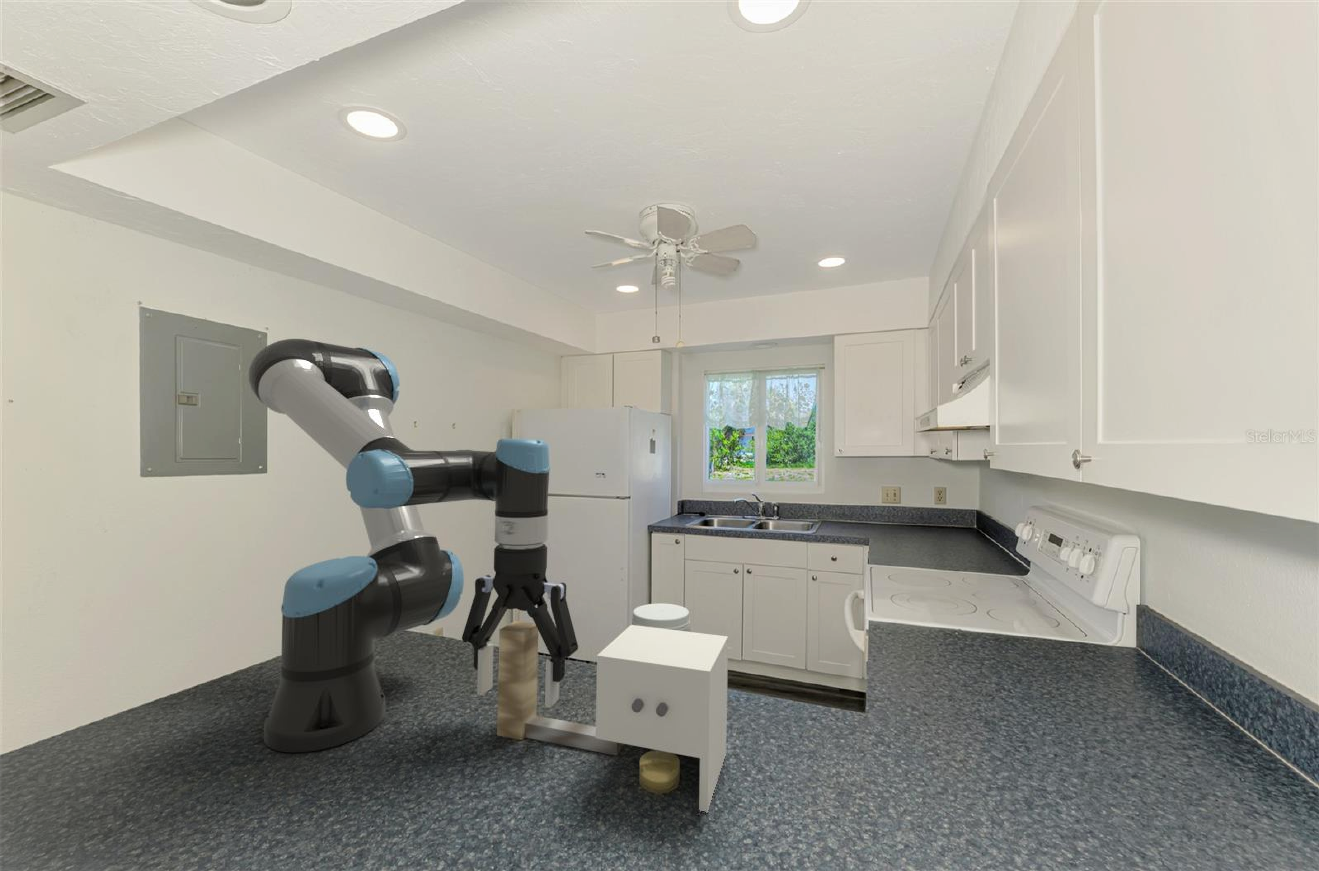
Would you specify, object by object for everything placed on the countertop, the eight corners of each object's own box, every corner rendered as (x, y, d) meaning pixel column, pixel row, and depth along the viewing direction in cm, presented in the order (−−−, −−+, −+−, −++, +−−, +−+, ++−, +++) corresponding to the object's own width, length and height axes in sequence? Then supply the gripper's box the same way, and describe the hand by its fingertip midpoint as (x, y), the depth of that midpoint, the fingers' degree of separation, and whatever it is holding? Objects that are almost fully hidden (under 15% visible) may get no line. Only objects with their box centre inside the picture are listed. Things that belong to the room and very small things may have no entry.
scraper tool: (497, 735, 77) (499, 629, 77) (512, 721, 81) (514, 620, 81) (614, 758, 72) (616, 645, 72) (625, 743, 76) (627, 635, 76)
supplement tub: (701, 706, 87) (702, 614, 87) (651, 721, 82) (653, 624, 82) (667, 683, 95) (668, 599, 95) (620, 696, 90) (621, 607, 90)
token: (633, 789, 66) (633, 768, 66) (646, 766, 71) (647, 747, 71) (673, 798, 64) (673, 776, 64) (683, 774, 69) (684, 754, 69)
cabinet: (591, 792, 65) (594, 658, 65) (628, 737, 77) (630, 624, 77) (705, 817, 61) (708, 674, 61) (726, 755, 73) (727, 636, 73)
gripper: (437, 542, 79) (434, 695, 78) (581, 554, 72) (578, 722, 72) (470, 535, 86) (467, 675, 86) (603, 545, 79) (600, 697, 79)
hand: (517, 696), depth 79 cm, fingers open, 10 cm apart
